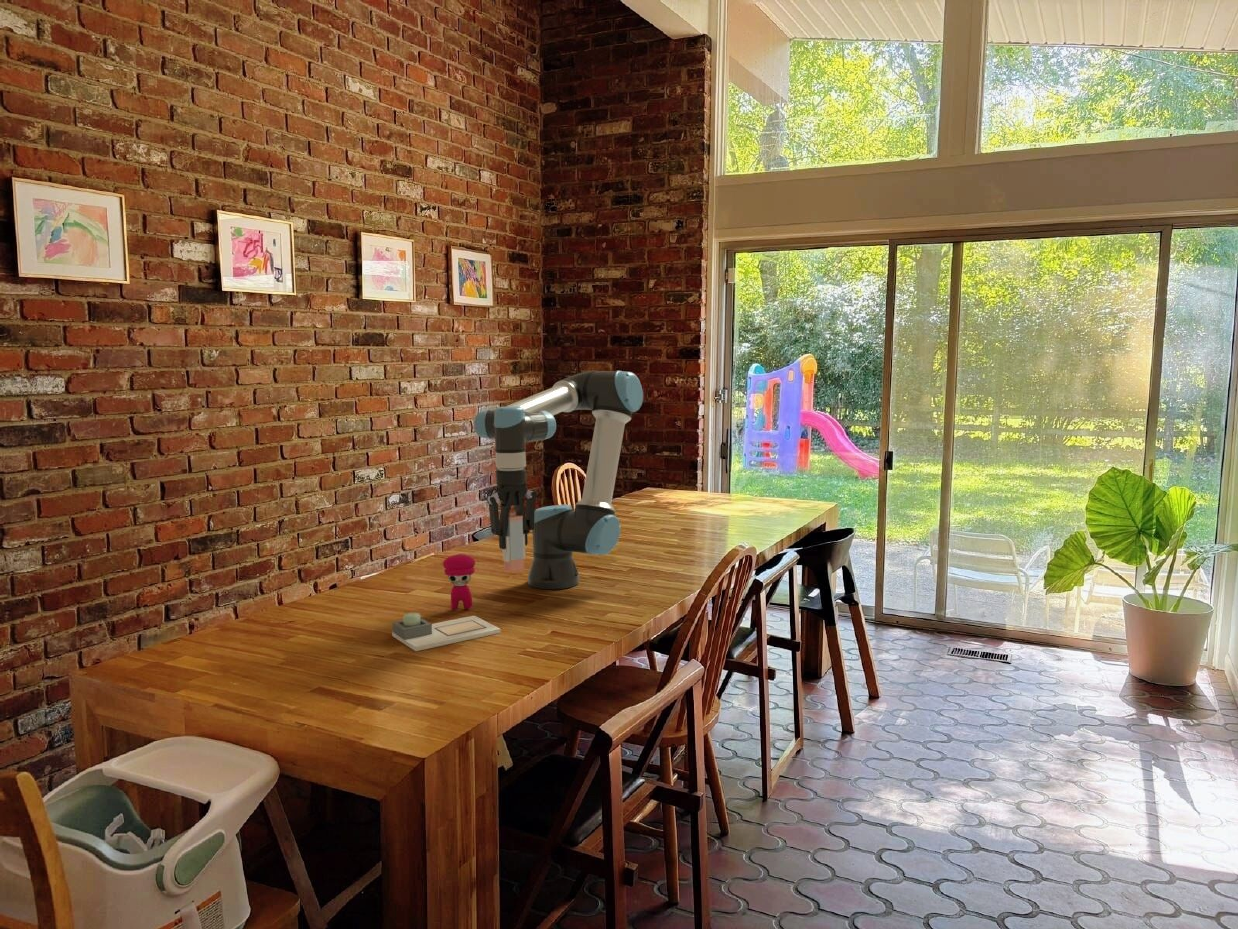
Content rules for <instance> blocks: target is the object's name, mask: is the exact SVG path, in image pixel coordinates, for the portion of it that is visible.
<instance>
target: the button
mask: <svg viewBox="0 0 1238 929" xmlns="http://www.w3.org/2000/svg"><path fill="white" fill-rule="evenodd" d="M420 618H421V613H418V612H409V613H404V614H403V616H402V619H403V620H402V621H403V623H404V627H406V628H408V627H413V626H418V625H421V621H420Z"/></svg>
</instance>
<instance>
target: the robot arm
mask: <svg viewBox="0 0 1238 929" xmlns="http://www.w3.org/2000/svg"><path fill="white" fill-rule="evenodd" d="M642 386H643V385H642V384H641V381H640V379H639V378H638V376H637V375H636V374H635V373H634V372H632V371H624V370H623V371H622V370H614V371H613V370H607V371H606V370H589V371H583V372H580V373H576V374H574V375H571V376H569V377H566V378H563V379H561V380H559V381H557V382H555V383H554V384H553V386H552V387H550V388H548V389H546V390H543V391H540V392H538V393H535V394H532V395H530V396H528V397H526V398H523V399H520V400H518V401H515V402H513V403H511V404H508V405H506V406H499V407H496V408H495V410H491V409H487V410H480V411H479V412H478V413H477V414H476V415H475V417H474V421H473V426H474V430H475V433H476V435H477V436H479V437H480V438H482V439H489V440H494V442H495V443H494V444H495V448H494V449H495V452H494V453H495V467H496V468H497V469H496V471H495V477H496V478H495V481H496V490H495V493H493V494H492V495H487V496H486V498H485V499H486V502H487V504H488V506H489V508H488V509H489V520H490V530H491V531H490V532H491V534H493V535H496V536H498V547H499V549H501V551H502V552H501V554H502V561H503V562H504V561H506V562H510V537H509V536H506V535H507V528H508V517H509V515H510V511H511V510H512V506H513V507H514V510H515V514H517V515H522V516H523V519H522V520H523V551H524V560H526V546H527V545H528V542H529V540H528V534H530V532H531V531H532V554H533V555H532V556H533V557H532V561H531V565H530V568H529V572H528V575H527V584H528V586H529V587H531V588H535V589H540V590H562V589H568V588H572V587H575V586H576V585H578V584H579V582H580V576H579V575H580V574H579V572H578V571H579V570H578V569H577V568H578V567H577V566H576V563H575V560H574V558H573V553H580V554H586V555H591V556H595V555H596V556H604V555H607V554H609V553H611V551H612V550H614V549H615V548H616V545H617V544H618V542H619V539H620V535H621V527H622V526H620V520H619V518H618V517H617V516H616V514H615V513H616V509H615V508H614V507H613V505H612V501H613V496H614V491H615V484H616V478H617V473H618V466H619V461H620V455H621V449H622V443H623V438H624V432H625V425H626V424H628V423H629V422H630V421H631V420H632V417H633V416H632V415H633V413H636V412H637V411H639V410H640V408H641V407H642V404H643V400H644V392H643V388H642ZM577 410H578V411H579V410H583V411H584V410H586V411H587V410H588V411H591V414H592V415H593V418H595V424H594V429H593V435H592V441H591V446H590V451H589V452H590V453H589V459H588V464H587V468H586V469H587V470H586V474H585V481H584V485H583V492H582V497H581V499H580V500H579V501H578V502H576V503H575V507H574V511H573V508H572V505H570V504H557V505H550V506H549V505H548V506H543V507H539V508H536V507H535V504H536V502H535V501H536V497H537V495H538V494H537V491H534V490H530V489H528V487H527V484H526V483H527V470H526V467H527V457H526V456H527V454H526V444H527V443H529V442H530V443H532V442H538V441H541V442H542V441H544V440H547V439H550V438H552V437H553V436H554V434H555V433H556V432H557V431H556V430H557V422H556V421H557V420H556V418H555V417H554V416H556V415H558V414H561V413H562V412H563V413H571V412H573V411H577ZM525 497H526V499H525ZM524 499H525V503H524ZM499 501H500V507H499V505H498V503H499ZM524 504H525V505H524ZM524 507H525V508H524ZM499 508H500V512H499ZM535 508H536V509H535Z"/></svg>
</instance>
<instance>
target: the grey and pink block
mask: <svg viewBox="0 0 1238 929" xmlns="http://www.w3.org/2000/svg"><path fill="white" fill-rule="evenodd" d="M522 519H523V516H522V515H517V514H516V513H511V514H510V513H509V517H508V528H507V535H506V536H509V537H510V562H506V561H503V562H504V563H503V565H504V566H503V567H504V568H503V569H504V570H505V571H507V572H510V573H517V572H521V571H525V559H524V551H523V520H522Z"/></svg>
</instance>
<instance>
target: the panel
mask: <svg viewBox="0 0 1238 929" xmlns="http://www.w3.org/2000/svg"><path fill="white" fill-rule="evenodd" d="M420 621H421V625H418V626H413V627H408V628H406V627H404V623H403V620H398V621H395V622H394V621H393V622H392V632H391V633H392V634H391V635H392V637H393V638H395V639H396V640H398V641H400V642H401V643H402V644H404V645H406V646H407V647H409V648H410V649H411V650H413V651H414V652H419V651H424V650H428V649H432V648H437V647H442V646H445V645H452V644H455V643H459V642H460V643H461V642H464V641H469V640H474V639H479V638H485V637H488V636H492V635H497V634H501V628H499V627H498V626H495V625H494V624H492V623H490V622H489V621H485V620H484V619H482V618H480V617H478V616H476V615H471V616H465V617H459V618H455V619H450V620H446V621H445V620H444V621H439V622H435V623H430V622H428V621H427V620H426V619H424V618H422V617H420Z"/></svg>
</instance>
